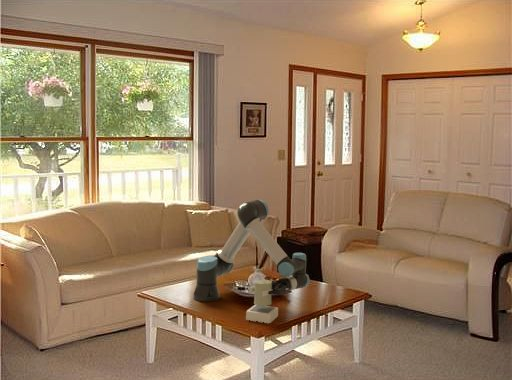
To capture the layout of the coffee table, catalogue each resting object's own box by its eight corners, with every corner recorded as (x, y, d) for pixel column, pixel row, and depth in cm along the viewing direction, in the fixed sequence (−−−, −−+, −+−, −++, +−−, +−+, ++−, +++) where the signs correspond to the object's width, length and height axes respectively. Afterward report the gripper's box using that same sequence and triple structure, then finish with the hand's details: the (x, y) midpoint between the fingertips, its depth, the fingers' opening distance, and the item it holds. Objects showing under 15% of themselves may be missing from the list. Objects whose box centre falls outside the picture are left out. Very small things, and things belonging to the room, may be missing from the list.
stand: (246, 319, 324) (246, 310, 324) (255, 312, 336) (255, 303, 336) (269, 323, 319) (269, 314, 319) (277, 316, 332) (278, 307, 331)
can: (256, 306, 321) (257, 283, 320) (251, 301, 330) (252, 279, 329) (273, 305, 324) (274, 282, 322) (268, 300, 333) (269, 278, 331)
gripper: (301, 295, 331) (271, 303, 316) (272, 286, 347) (242, 294, 331) (301, 281, 330) (271, 289, 315) (272, 273, 346) (242, 280, 330)
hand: (256, 291), depth 323 cm, fingers closed on can, 9 cm apart
